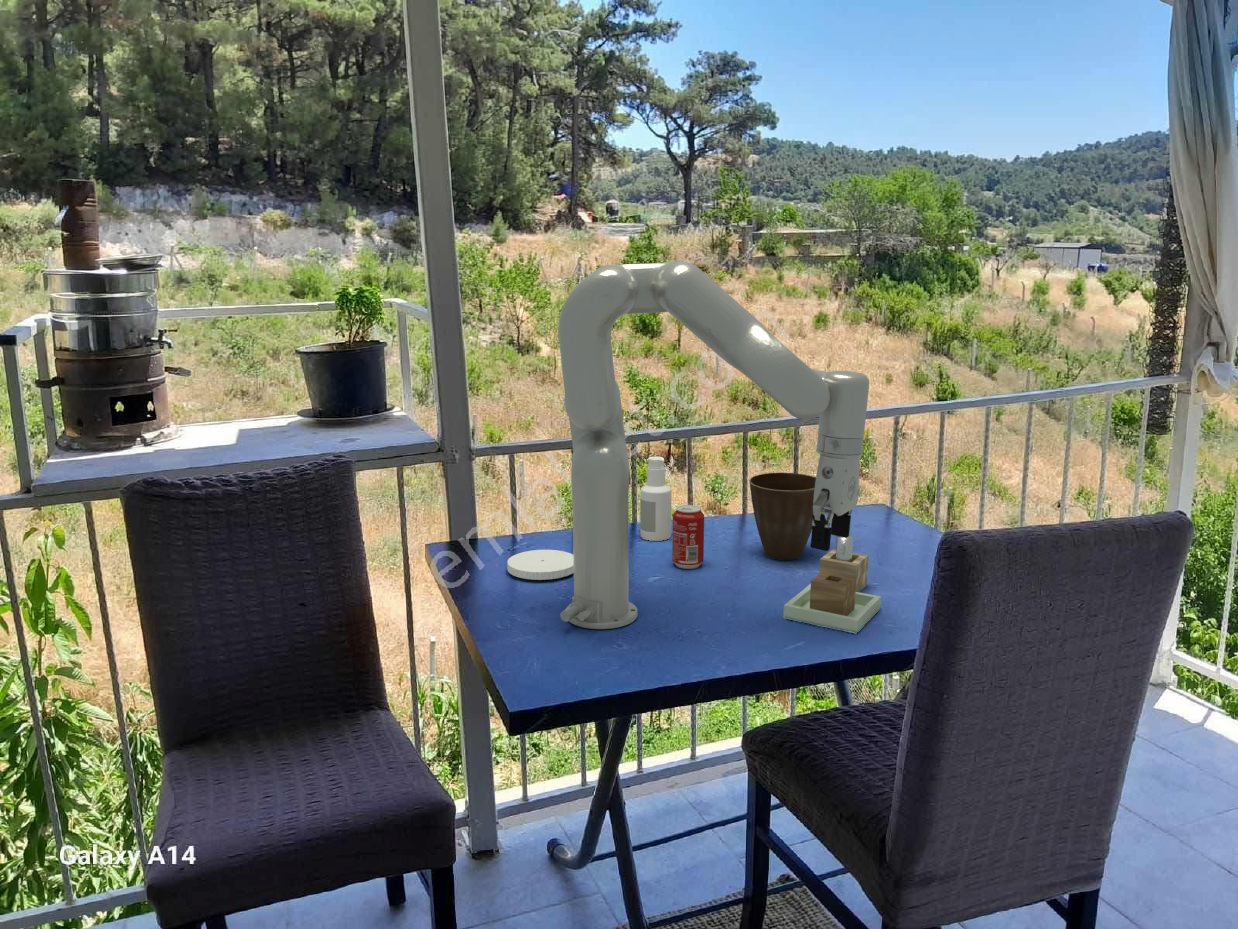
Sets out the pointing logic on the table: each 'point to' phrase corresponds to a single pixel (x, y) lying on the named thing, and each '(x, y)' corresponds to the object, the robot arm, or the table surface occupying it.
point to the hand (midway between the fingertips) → (829, 542)
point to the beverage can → (688, 537)
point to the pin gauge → (844, 548)
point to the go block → (847, 567)
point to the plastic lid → (541, 564)
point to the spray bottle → (655, 503)
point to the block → (833, 593)
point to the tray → (853, 622)
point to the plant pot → (783, 512)
